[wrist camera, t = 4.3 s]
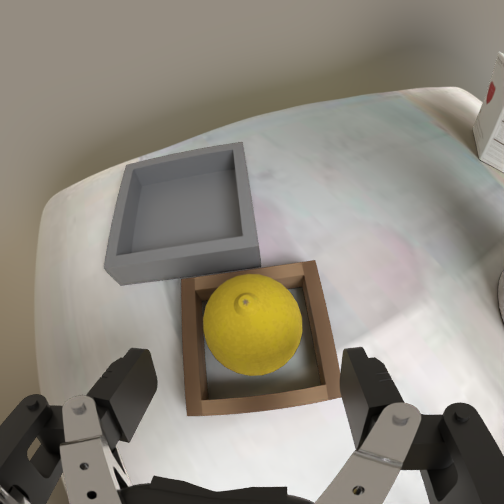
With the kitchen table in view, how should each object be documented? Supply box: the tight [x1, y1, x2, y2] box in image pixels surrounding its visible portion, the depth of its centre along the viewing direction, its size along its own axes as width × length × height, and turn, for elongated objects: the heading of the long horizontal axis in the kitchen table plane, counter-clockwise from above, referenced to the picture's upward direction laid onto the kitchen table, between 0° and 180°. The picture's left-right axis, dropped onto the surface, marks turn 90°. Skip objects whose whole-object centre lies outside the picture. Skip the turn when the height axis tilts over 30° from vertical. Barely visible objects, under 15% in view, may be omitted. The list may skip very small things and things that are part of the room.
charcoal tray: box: [104, 142, 261, 285], centre depth 25 cm, size 12×12×3 cm
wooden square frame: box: [181, 260, 341, 416], centre depth 19 cm, size 10×10×2 cm
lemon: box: [203, 274, 302, 376], centre depth 16 cm, size 6×6×8 cm
